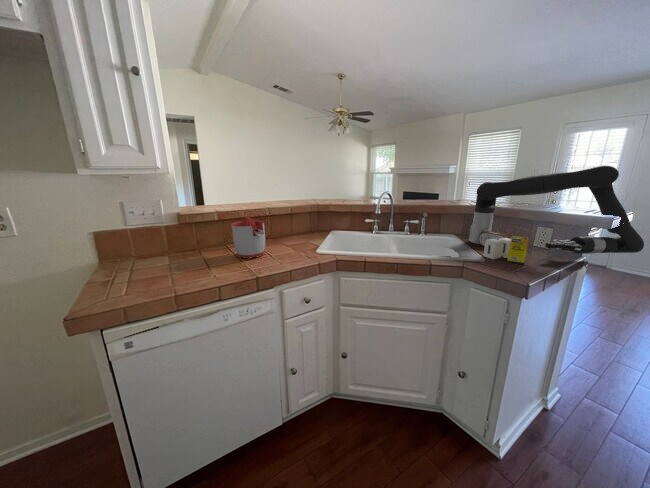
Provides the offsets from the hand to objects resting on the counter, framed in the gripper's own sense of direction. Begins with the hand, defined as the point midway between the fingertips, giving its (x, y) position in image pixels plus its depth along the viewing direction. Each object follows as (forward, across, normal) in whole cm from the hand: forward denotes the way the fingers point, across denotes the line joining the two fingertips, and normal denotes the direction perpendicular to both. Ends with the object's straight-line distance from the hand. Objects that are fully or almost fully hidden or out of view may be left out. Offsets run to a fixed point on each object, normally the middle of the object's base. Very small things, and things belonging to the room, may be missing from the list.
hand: (546, 245), depth 112 cm
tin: (+9, -21, +8) cm, 24 cm away
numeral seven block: (+12, -8, +7) cm, 16 cm away
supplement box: (+12, 0, +8) cm, 14 cm away
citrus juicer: (+134, -12, +8) cm, 134 cm away
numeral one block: (+19, -7, +7) cm, 21 cm away
